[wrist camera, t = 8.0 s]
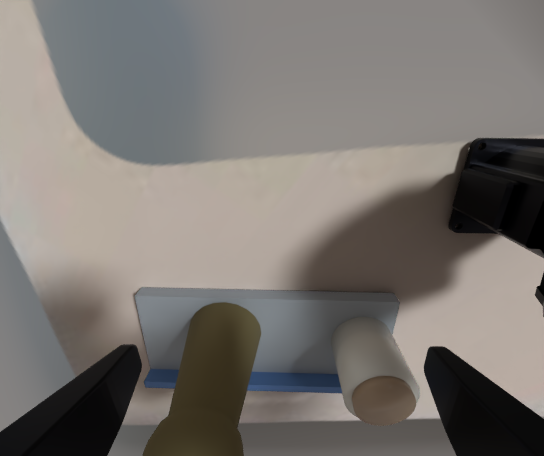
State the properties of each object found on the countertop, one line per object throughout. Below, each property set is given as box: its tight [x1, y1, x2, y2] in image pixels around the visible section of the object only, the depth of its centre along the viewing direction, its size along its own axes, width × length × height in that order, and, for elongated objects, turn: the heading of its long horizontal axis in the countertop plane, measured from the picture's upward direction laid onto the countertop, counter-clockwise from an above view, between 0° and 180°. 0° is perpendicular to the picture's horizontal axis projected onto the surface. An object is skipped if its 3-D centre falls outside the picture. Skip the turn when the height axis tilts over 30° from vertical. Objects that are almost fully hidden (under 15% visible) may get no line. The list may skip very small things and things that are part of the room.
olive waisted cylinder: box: [143, 302, 261, 456], centre depth 18 cm, size 6×6×11 cm
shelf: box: [135, 287, 400, 393], centre depth 23 cm, size 21×9×2 cm, turn 89°
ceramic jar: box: [331, 317, 420, 426], centre depth 20 cm, size 5×5×6 cm
